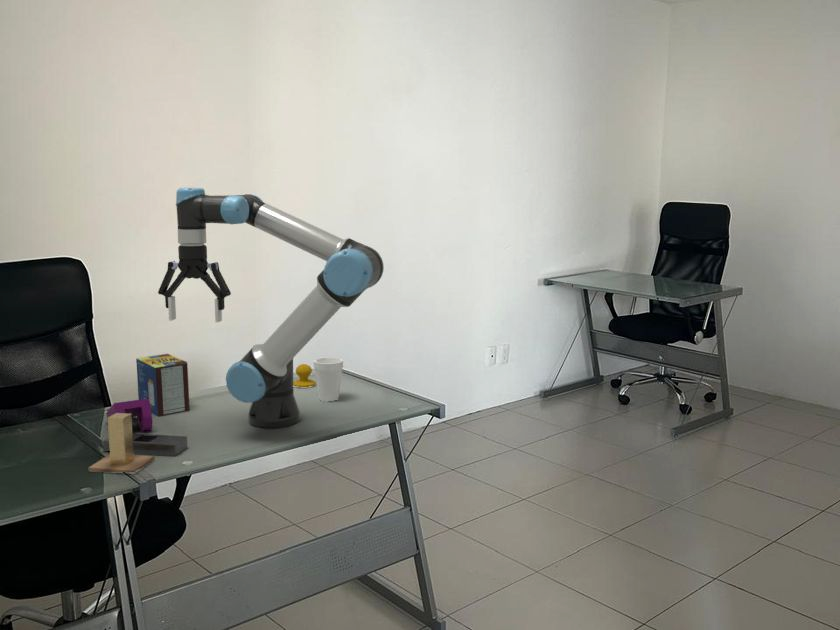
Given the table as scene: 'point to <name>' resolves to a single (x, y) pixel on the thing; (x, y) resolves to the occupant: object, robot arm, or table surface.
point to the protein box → (163, 383)
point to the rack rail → (155, 444)
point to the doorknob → (304, 376)
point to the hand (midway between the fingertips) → (195, 320)
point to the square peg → (120, 438)
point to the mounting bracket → (135, 412)
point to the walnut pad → (134, 465)
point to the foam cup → (328, 377)
